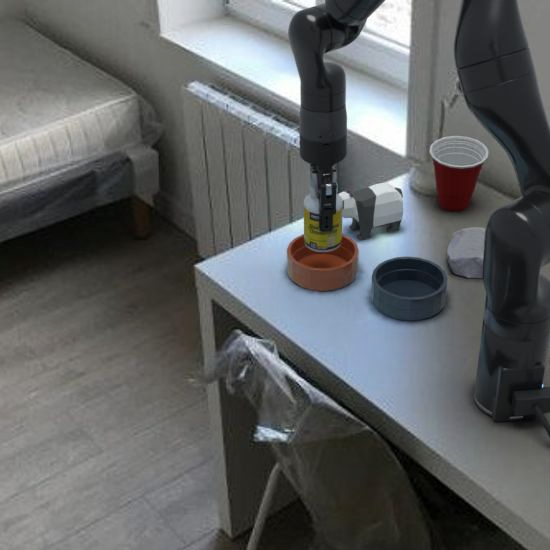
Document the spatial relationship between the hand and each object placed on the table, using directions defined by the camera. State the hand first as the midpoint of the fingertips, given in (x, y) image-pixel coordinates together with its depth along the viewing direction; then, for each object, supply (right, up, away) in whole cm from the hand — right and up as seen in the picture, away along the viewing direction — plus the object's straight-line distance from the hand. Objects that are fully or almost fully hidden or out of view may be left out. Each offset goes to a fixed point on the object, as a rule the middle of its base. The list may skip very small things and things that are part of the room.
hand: (323, 219), depth 162 cm
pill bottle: (0, -4, +3) cm, 5 cm away
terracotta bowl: (0, -9, +6) cm, 11 cm away
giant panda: (+9, -1, +17) cm, 19 cm away
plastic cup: (+26, +4, +24) cm, 36 cm away
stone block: (+27, -7, +8) cm, 29 cm away
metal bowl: (+14, -13, -1) cm, 20 cm away
